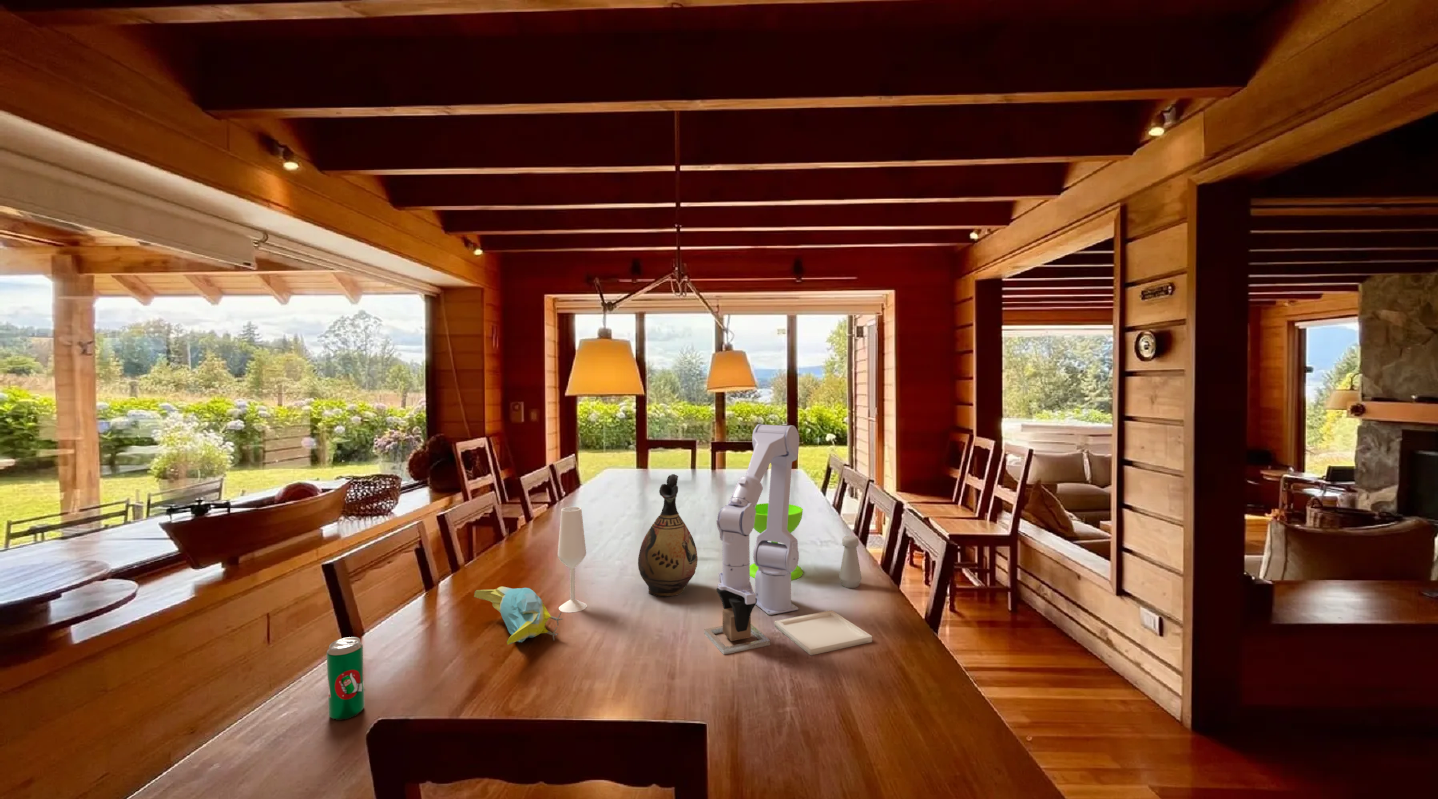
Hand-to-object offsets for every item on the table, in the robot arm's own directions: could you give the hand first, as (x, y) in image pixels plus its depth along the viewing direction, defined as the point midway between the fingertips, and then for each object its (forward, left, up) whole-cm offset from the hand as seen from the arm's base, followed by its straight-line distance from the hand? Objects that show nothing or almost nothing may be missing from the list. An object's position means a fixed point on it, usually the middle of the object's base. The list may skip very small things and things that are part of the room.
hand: (736, 625), depth 125 cm
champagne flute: (-32, -29, -3) cm, 43 cm away
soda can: (-1, -71, -3) cm, 71 cm away
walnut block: (0, 0, -2) cm, 2 cm away
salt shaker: (-17, +41, -3) cm, 44 cm away
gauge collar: (0, 0, -3) cm, 3 cm away
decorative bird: (-21, -46, -3) cm, 50 cm away
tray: (+5, +18, -3) cm, 19 cm away
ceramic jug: (-34, -4, -3) cm, 34 cm away
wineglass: (-35, +28, -3) cm, 45 cm away
